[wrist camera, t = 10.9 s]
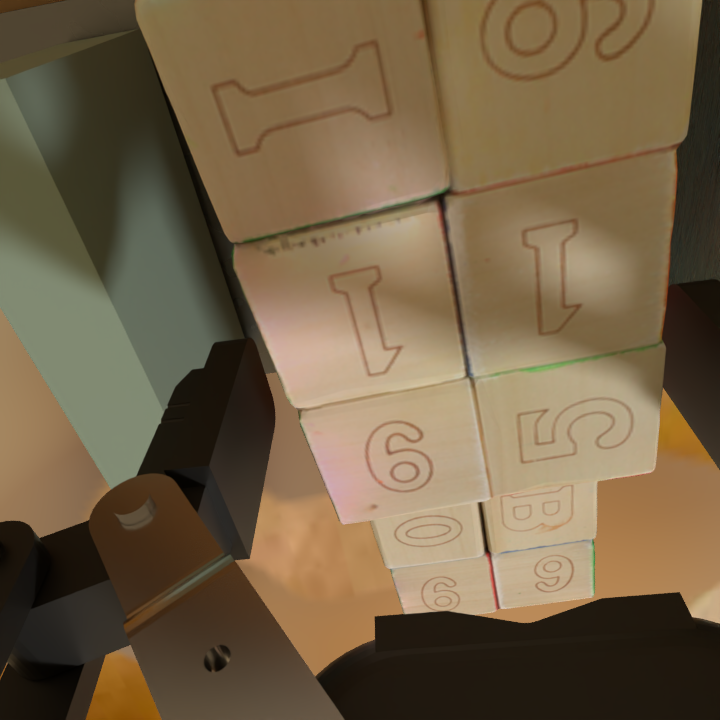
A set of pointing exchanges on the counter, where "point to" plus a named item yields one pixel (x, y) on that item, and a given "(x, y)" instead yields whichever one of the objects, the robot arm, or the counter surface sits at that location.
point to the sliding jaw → (104, 242)
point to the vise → (117, 14)
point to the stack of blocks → (450, 256)
